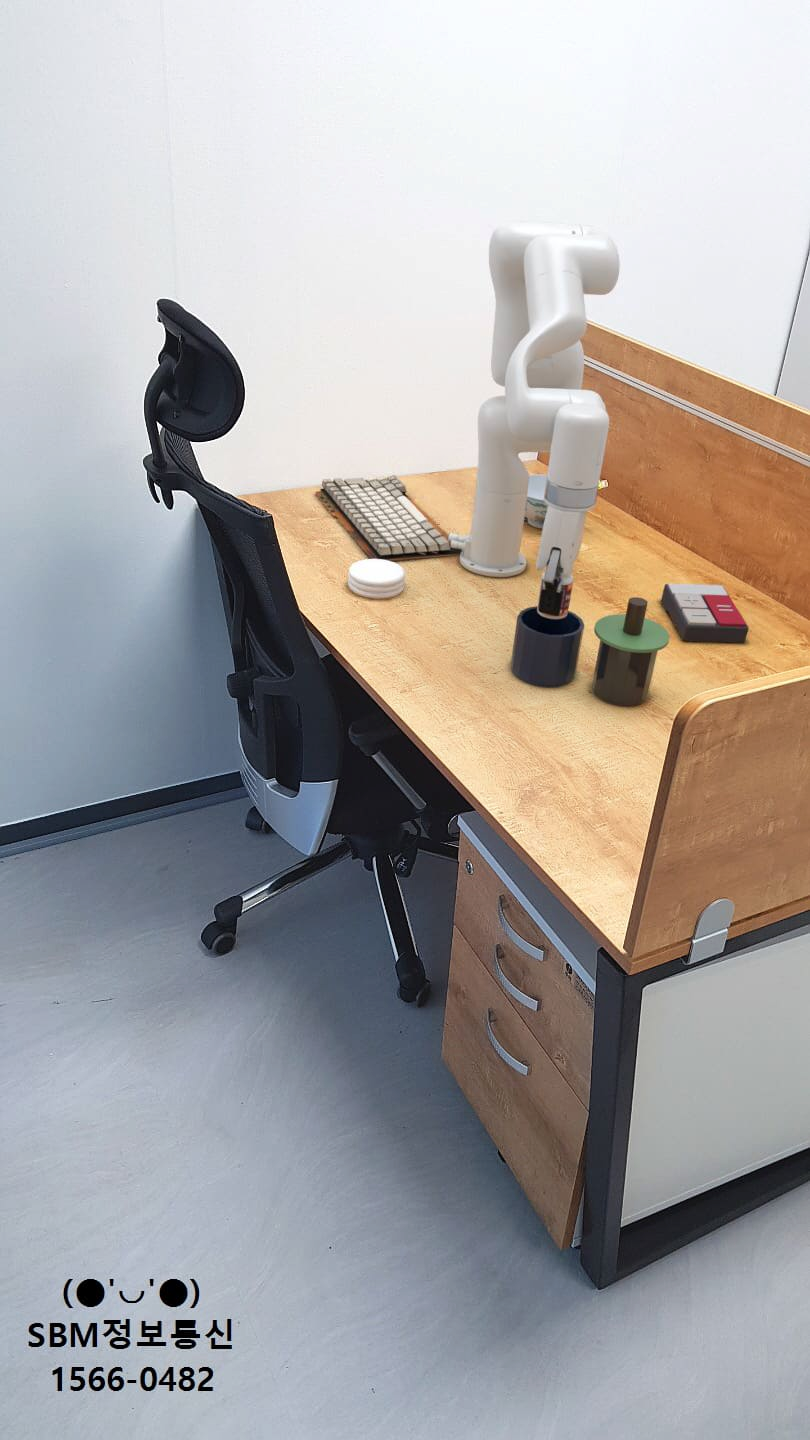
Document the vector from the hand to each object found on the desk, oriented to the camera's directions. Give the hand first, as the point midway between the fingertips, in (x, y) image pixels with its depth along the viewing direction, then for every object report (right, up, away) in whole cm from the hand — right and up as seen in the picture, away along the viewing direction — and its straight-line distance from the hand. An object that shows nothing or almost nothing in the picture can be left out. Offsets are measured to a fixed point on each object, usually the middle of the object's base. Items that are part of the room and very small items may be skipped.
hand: (553, 604), depth 168 cm
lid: (+11, -5, -3) cm, 13 cm away
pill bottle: (0, -1, +1) cm, 2 cm away
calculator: (+29, -1, +25) cm, 39 cm away
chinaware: (+6, +23, +59) cm, 64 cm away
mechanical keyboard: (-27, +22, +54) cm, 64 cm away
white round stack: (-28, +6, +28) cm, 40 cm away
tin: (-1, -10, +6) cm, 12 cm away
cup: (+11, -13, +2) cm, 17 cm away
